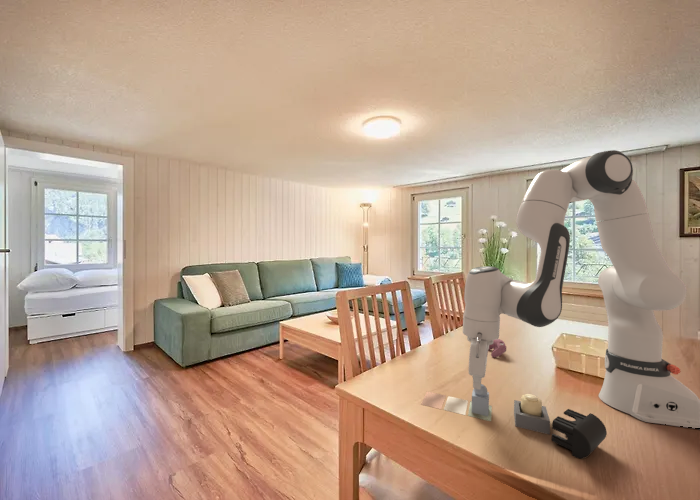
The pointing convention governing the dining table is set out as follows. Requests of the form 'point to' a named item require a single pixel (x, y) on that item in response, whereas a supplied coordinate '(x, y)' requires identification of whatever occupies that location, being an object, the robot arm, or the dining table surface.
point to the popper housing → (531, 419)
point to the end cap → (579, 433)
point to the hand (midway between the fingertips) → (478, 380)
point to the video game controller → (497, 348)
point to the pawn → (480, 401)
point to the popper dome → (531, 405)
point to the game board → (452, 405)
